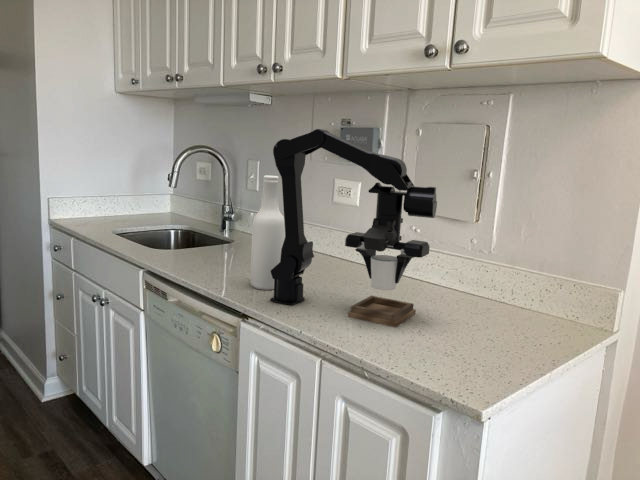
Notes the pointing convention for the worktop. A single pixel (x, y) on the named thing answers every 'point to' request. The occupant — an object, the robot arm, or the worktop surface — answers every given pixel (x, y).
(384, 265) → the white cup
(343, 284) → the worktop surface
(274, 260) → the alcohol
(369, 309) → the walnut holder
